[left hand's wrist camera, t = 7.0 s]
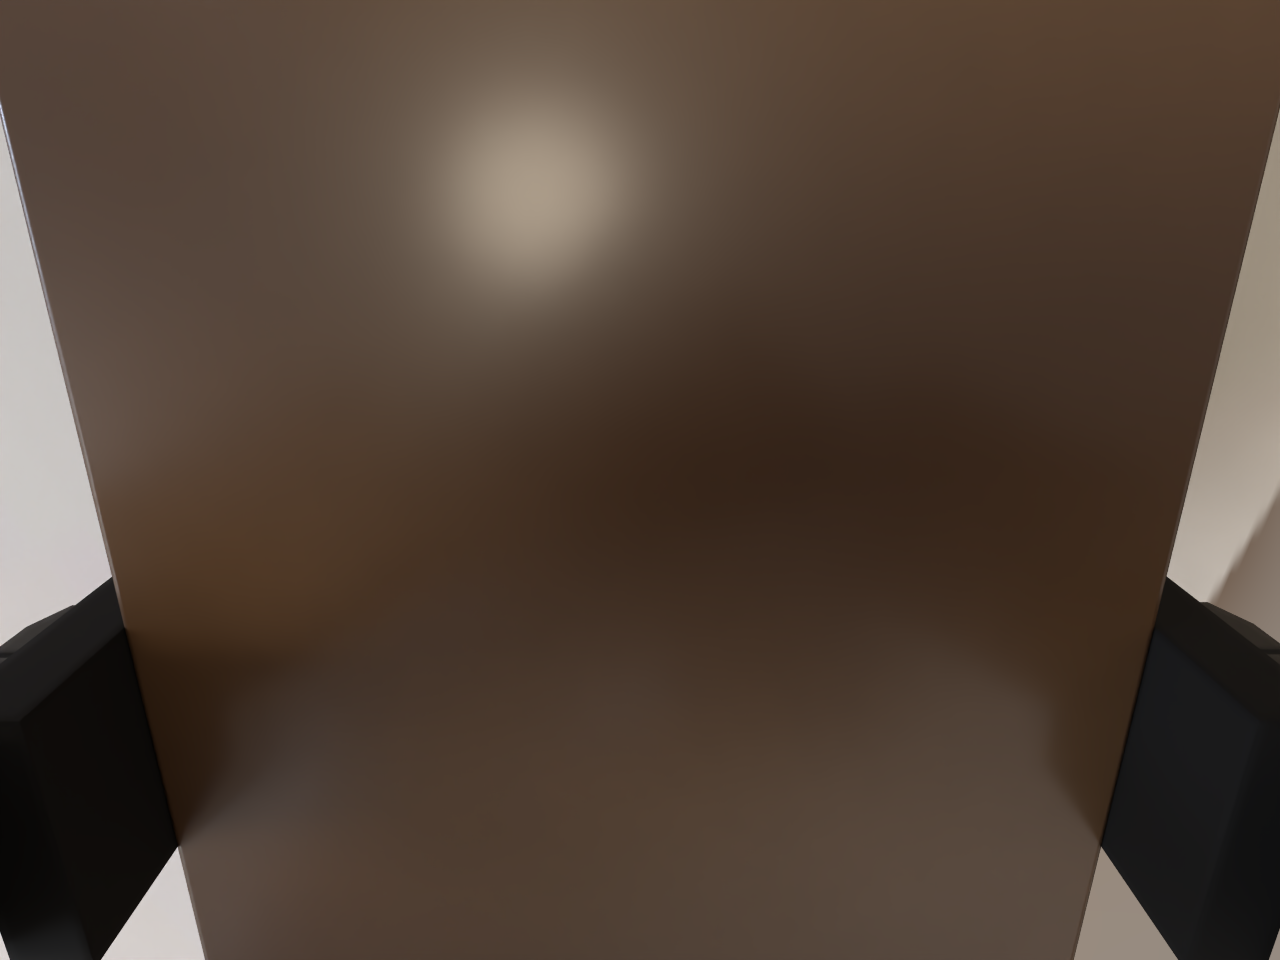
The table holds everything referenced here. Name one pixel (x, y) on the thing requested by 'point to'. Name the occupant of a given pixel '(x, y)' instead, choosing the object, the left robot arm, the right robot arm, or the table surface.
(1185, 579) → the table surface
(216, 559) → the brown rectangular box
